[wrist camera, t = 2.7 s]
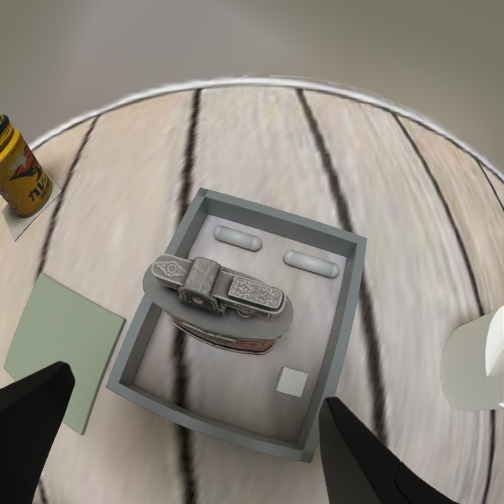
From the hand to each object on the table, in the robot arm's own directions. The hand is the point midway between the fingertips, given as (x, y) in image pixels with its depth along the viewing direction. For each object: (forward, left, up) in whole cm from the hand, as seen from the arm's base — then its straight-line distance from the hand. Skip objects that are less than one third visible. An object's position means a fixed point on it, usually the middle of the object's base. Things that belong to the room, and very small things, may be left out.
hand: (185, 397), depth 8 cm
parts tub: (0, -6, -12) cm, 13 cm away
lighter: (+1, -5, -12) cm, 13 cm away
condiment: (+29, -9, -12) cm, 33 cm away
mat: (+14, +3, -12) cm, 19 cm away
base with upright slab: (-23, -7, -12) cm, 27 cm away
